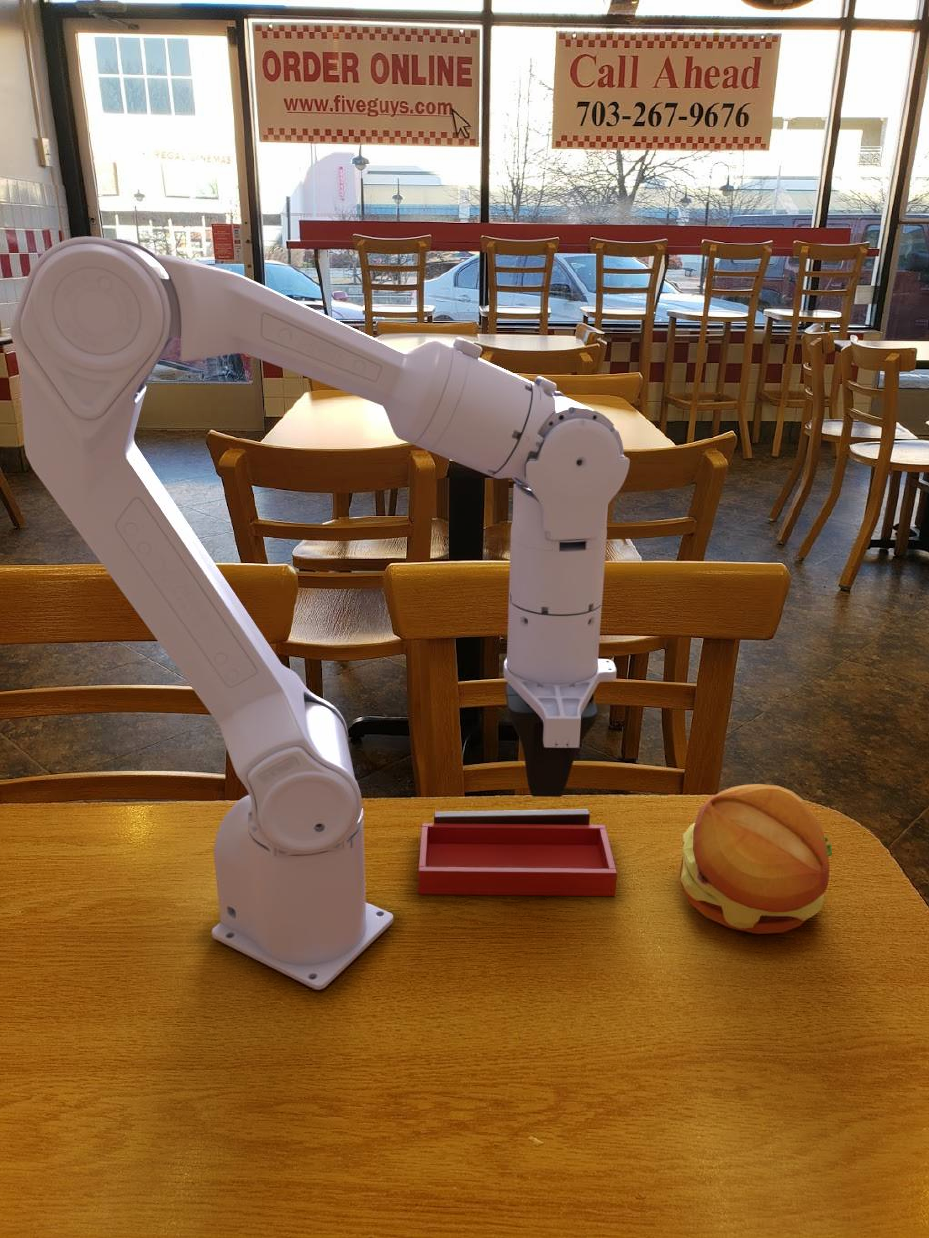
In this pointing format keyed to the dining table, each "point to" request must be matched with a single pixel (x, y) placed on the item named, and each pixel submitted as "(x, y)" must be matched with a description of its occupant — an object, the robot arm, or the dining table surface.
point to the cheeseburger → (756, 860)
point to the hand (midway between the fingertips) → (545, 791)
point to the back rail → (516, 817)
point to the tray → (516, 860)
